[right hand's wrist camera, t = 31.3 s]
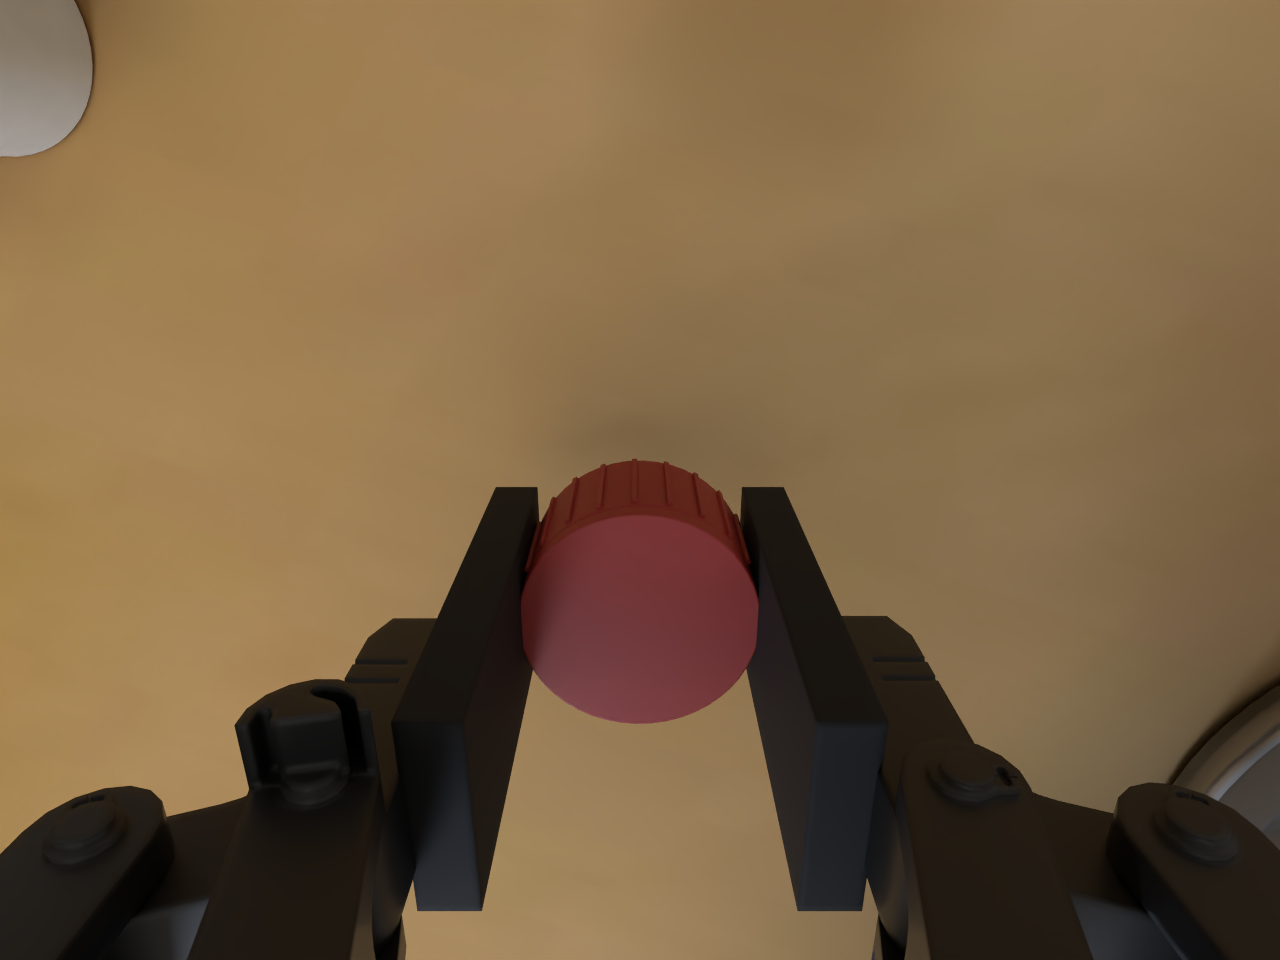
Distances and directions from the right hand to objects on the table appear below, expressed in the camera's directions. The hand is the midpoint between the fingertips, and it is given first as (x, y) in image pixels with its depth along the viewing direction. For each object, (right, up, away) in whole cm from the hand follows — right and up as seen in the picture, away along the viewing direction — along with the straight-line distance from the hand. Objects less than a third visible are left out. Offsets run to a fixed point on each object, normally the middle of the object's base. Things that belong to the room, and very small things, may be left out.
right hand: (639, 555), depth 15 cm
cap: (0, -1, -2) cm, 2 cm away
